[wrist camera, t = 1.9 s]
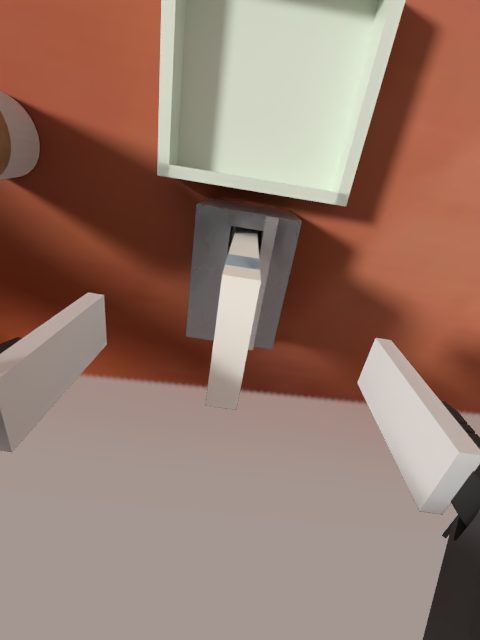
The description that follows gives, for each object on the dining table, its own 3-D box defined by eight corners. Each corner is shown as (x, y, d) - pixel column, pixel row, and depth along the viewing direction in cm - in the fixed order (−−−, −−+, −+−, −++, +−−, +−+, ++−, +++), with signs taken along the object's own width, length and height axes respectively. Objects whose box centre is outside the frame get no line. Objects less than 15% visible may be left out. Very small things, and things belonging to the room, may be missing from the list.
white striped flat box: (226, 300, 28) (205, 405, 15) (237, 223, 25) (221, 274, 12) (243, 303, 28) (236, 410, 15) (256, 226, 25) (261, 280, 12)
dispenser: (198, 306, 29) (184, 340, 23) (208, 197, 25) (194, 205, 19) (268, 317, 29) (272, 353, 24) (291, 211, 25) (303, 222, 19)
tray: (169, 174, 24) (157, 175, 21) (178, -48, 19) (163, -92, 16) (334, 202, 25) (345, 206, 22) (390, -7, 19) (417, -42, 16)
